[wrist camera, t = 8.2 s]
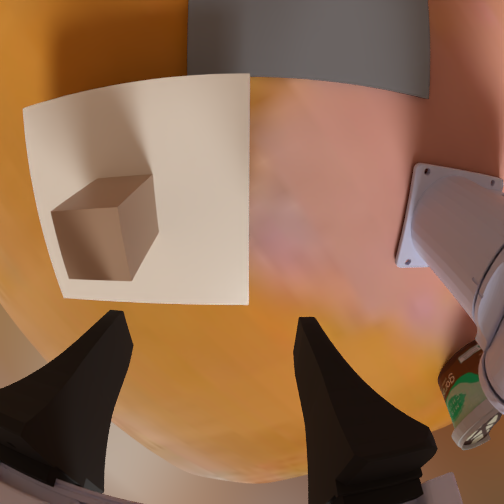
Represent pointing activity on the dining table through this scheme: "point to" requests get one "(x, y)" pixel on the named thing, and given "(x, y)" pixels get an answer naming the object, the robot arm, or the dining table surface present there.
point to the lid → (146, 189)
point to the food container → (467, 398)
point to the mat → (314, 41)
